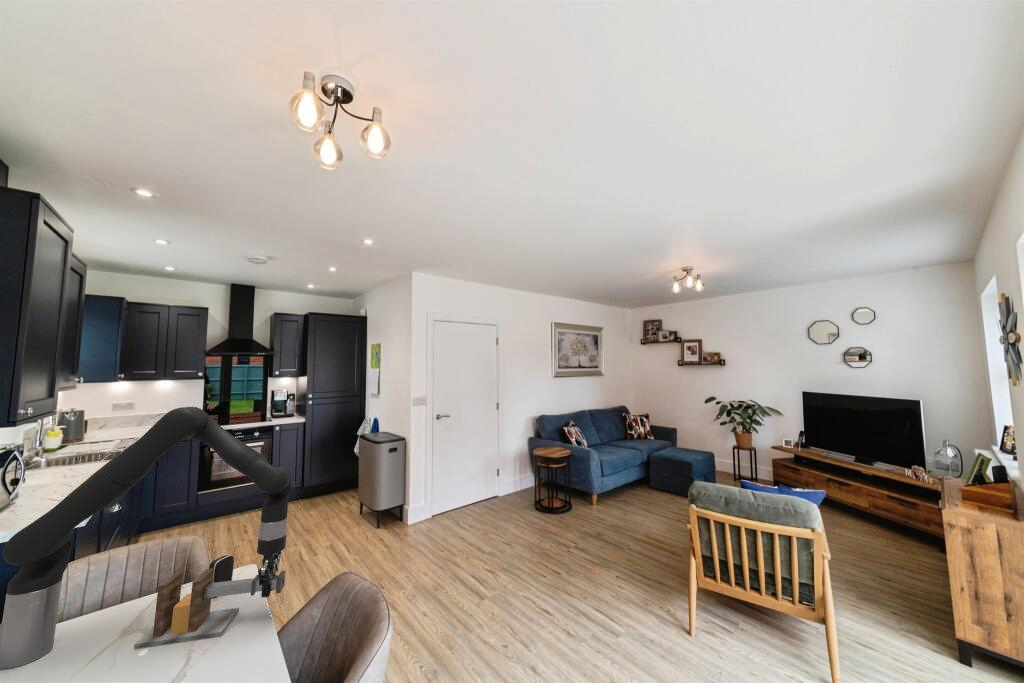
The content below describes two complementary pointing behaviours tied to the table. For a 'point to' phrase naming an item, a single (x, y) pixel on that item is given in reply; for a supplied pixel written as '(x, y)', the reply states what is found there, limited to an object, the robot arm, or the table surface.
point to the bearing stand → (200, 615)
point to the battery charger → (222, 569)
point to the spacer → (181, 615)
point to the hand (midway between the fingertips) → (267, 593)
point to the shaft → (242, 586)
